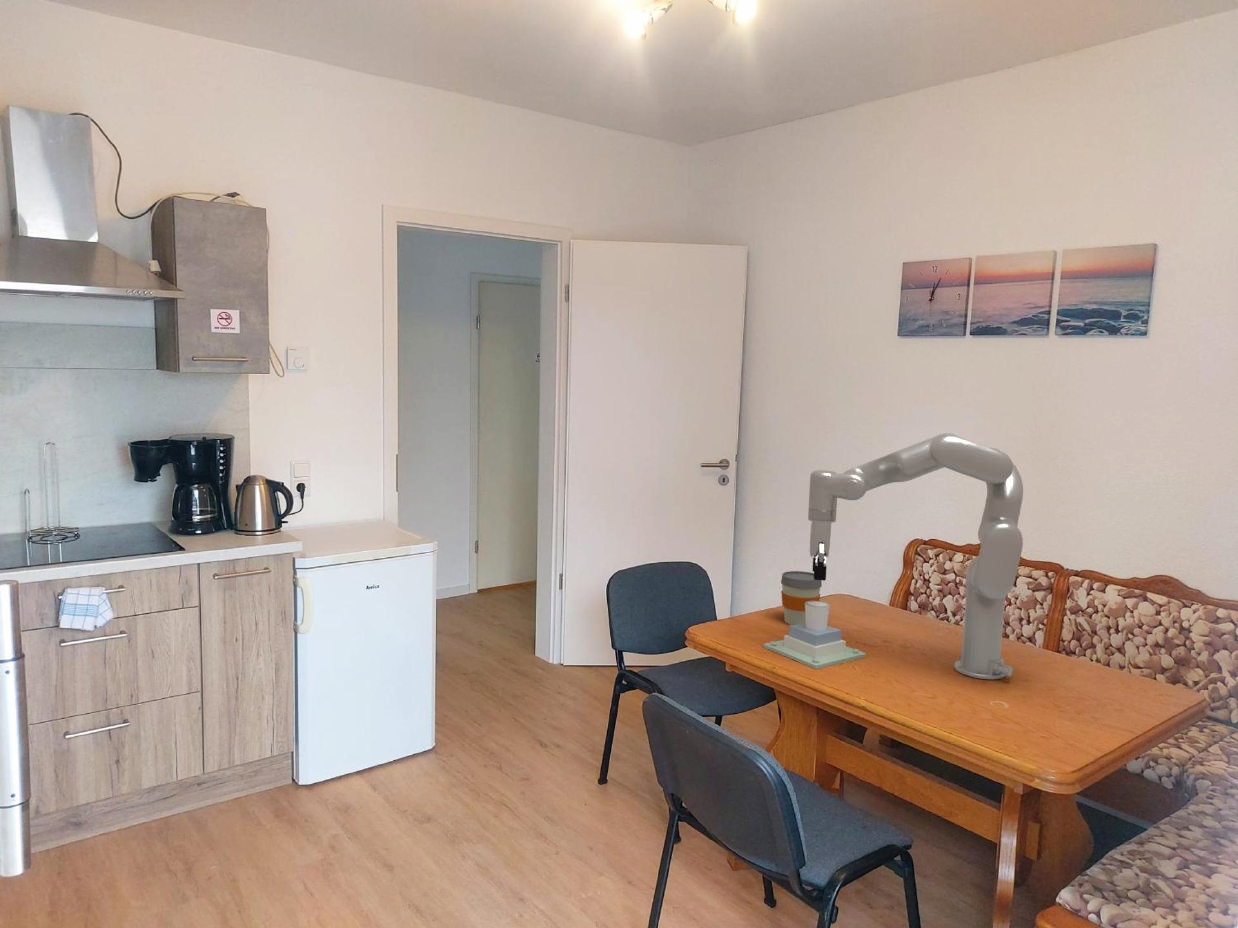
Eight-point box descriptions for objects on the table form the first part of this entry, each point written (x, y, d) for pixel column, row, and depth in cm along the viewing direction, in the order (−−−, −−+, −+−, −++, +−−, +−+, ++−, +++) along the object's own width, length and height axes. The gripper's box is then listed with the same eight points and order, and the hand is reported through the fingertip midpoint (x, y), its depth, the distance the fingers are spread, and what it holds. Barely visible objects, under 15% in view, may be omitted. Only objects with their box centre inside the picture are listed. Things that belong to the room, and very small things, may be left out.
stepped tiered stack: (865, 656, 231) (867, 632, 230) (815, 669, 220) (817, 643, 219) (812, 636, 248) (813, 614, 247) (763, 647, 237) (764, 623, 236)
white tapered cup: (810, 622, 238) (812, 598, 237) (832, 627, 234) (834, 603, 233) (799, 627, 233) (800, 603, 232) (821, 633, 228) (823, 608, 228)
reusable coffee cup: (775, 624, 260) (777, 577, 258) (783, 614, 271) (785, 569, 269) (815, 630, 255) (818, 582, 253) (822, 619, 266) (825, 573, 265)
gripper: (807, 509, 239) (804, 568, 241) (809, 519, 222) (806, 582, 224) (834, 511, 237) (830, 569, 239) (838, 521, 221) (834, 584, 222)
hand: (818, 575), depth 232 cm, fingers open, 9 cm apart
